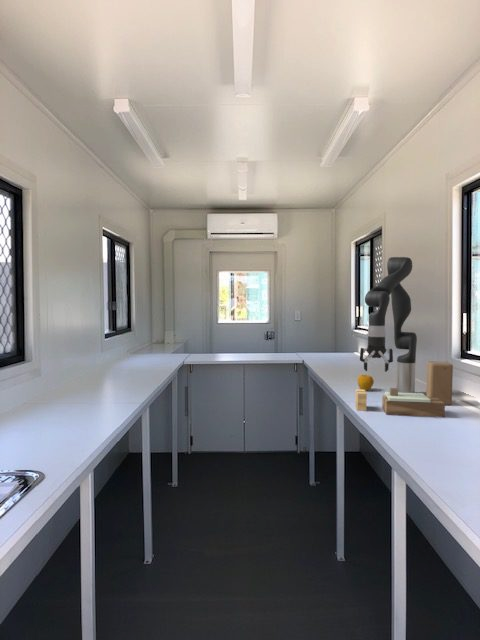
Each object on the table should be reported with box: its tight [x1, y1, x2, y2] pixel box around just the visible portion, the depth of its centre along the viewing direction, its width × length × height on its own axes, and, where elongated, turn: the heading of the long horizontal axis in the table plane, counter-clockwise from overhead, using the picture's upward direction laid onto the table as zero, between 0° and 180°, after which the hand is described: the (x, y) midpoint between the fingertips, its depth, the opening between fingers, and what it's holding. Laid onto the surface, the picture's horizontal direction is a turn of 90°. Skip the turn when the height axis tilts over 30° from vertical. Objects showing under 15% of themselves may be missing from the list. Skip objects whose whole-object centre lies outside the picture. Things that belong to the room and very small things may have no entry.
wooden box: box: [381, 394, 446, 418], centre depth 200 cm, size 12×24×6 cm, turn 81°
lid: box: [384, 387, 430, 402], centre depth 201 cm, size 13×17×4 cm
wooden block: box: [425, 360, 454, 406], centre depth 219 cm, size 10×10×20 cm
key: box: [354, 388, 368, 412], centre depth 208 cm, size 9×4×8 cm, turn 171°
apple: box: [357, 374, 375, 392], centre depth 249 cm, size 8×8×9 cm
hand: (375, 371), depth 203 cm, fingers open, 8 cm apart
